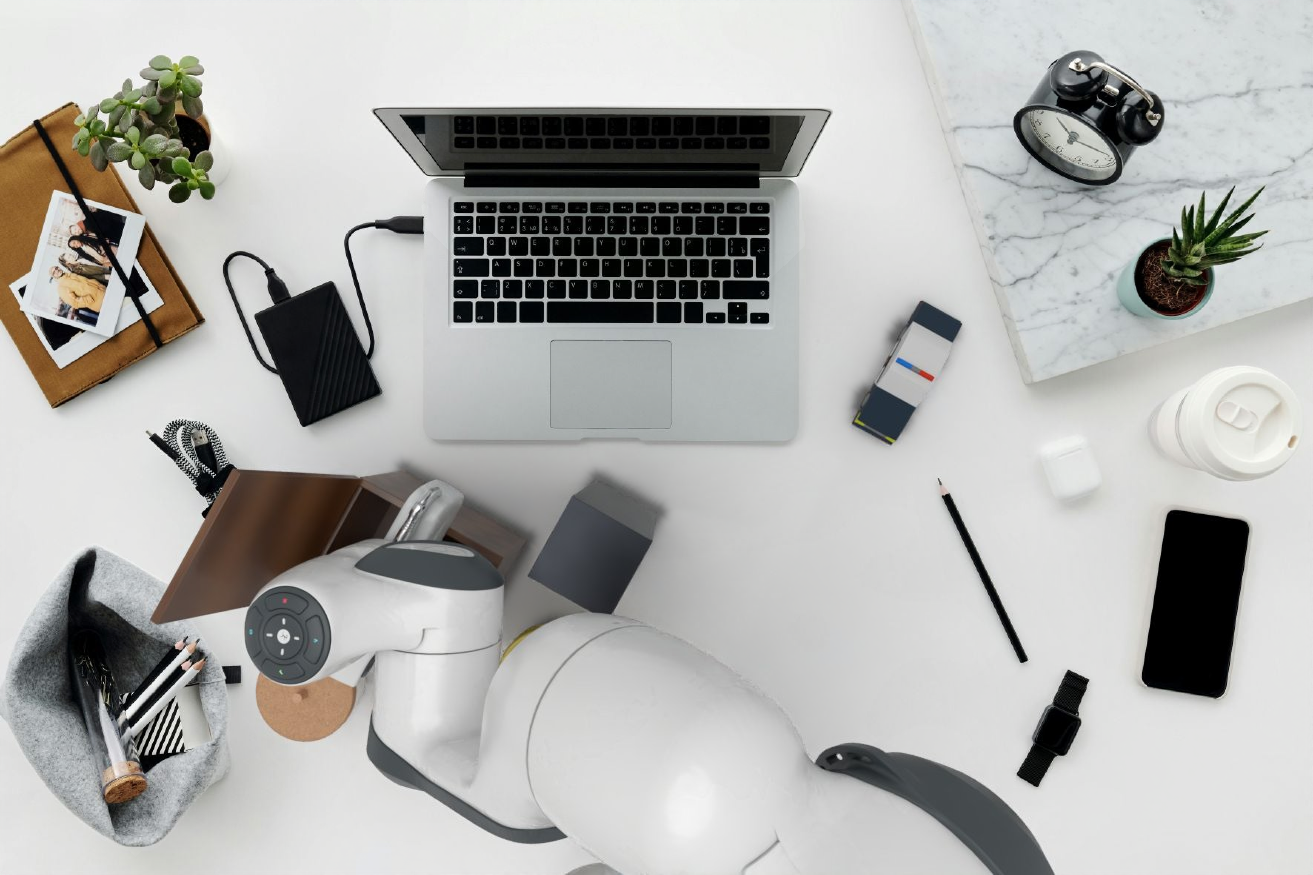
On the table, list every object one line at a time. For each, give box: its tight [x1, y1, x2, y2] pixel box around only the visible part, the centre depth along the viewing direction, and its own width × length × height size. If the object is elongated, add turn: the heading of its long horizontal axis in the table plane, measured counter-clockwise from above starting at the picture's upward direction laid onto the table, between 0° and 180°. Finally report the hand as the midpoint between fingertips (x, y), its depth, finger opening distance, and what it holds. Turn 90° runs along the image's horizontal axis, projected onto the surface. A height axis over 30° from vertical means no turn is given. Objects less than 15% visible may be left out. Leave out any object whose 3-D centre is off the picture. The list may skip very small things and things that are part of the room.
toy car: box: [851, 300, 963, 446], centre depth 88 cm, size 5×16×5 cm, turn 151°
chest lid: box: [149, 468, 361, 626], centre depth 69 cm, size 18×14×1 cm
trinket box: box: [255, 671, 367, 743], centre depth 87 cm, size 11×11×9 cm
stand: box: [527, 478, 657, 615], centre depth 79 cm, size 8×8×24 cm
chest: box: [318, 470, 528, 580], centre depth 85 cm, size 17×14×13 cm
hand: (419, 563), depth 84 cm, fingers closed on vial, 5 cm apart
